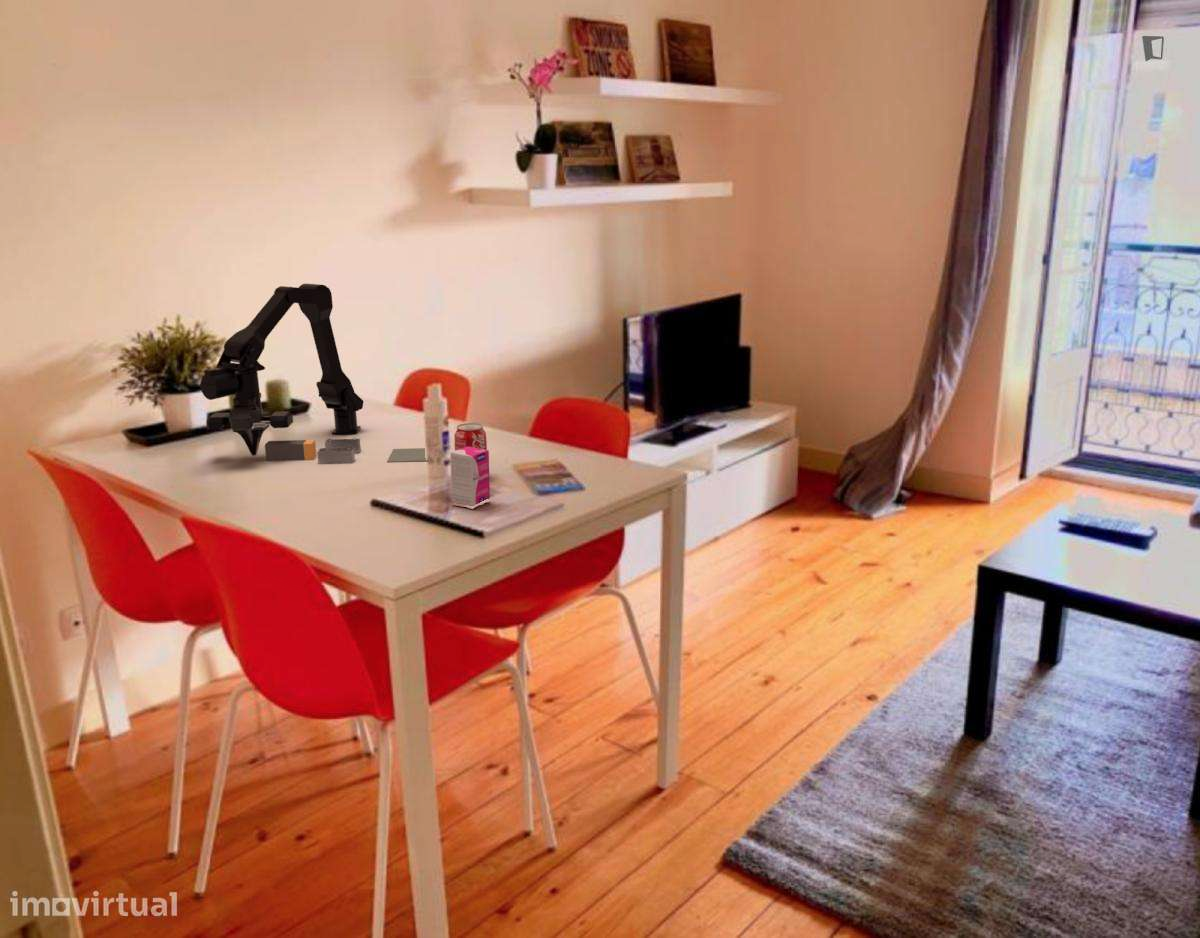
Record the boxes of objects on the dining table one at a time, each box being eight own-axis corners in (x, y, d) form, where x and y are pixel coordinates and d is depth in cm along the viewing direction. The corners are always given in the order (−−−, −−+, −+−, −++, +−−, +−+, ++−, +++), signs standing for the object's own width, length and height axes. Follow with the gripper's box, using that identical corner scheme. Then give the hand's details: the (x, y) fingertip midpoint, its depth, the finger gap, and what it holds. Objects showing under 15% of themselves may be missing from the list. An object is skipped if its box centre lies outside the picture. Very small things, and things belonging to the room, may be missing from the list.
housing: (327, 451, 238) (326, 438, 237) (360, 450, 238) (359, 437, 237) (318, 463, 227) (317, 450, 226) (352, 462, 228) (351, 449, 227)
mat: (393, 449, 239) (393, 448, 238) (438, 448, 239) (438, 447, 239) (386, 462, 228) (386, 461, 228) (433, 461, 229) (433, 460, 229)
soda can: (491, 473, 219) (488, 422, 215) (484, 483, 212) (482, 430, 209) (460, 472, 220) (457, 421, 216) (452, 482, 213) (450, 429, 209)
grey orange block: (270, 456, 233) (268, 440, 232) (316, 455, 234) (315, 439, 233) (266, 461, 230) (264, 444, 229) (313, 459, 231) (311, 443, 229)
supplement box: (473, 510, 195) (471, 456, 192) (451, 505, 198) (448, 452, 195) (491, 502, 200) (489, 449, 196) (469, 497, 203) (466, 445, 199)
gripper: (194, 400, 218) (203, 465, 223) (278, 398, 219) (285, 463, 224) (210, 389, 229) (218, 452, 234) (290, 387, 230) (296, 450, 235)
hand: (254, 455), depth 231 cm, fingers closed
